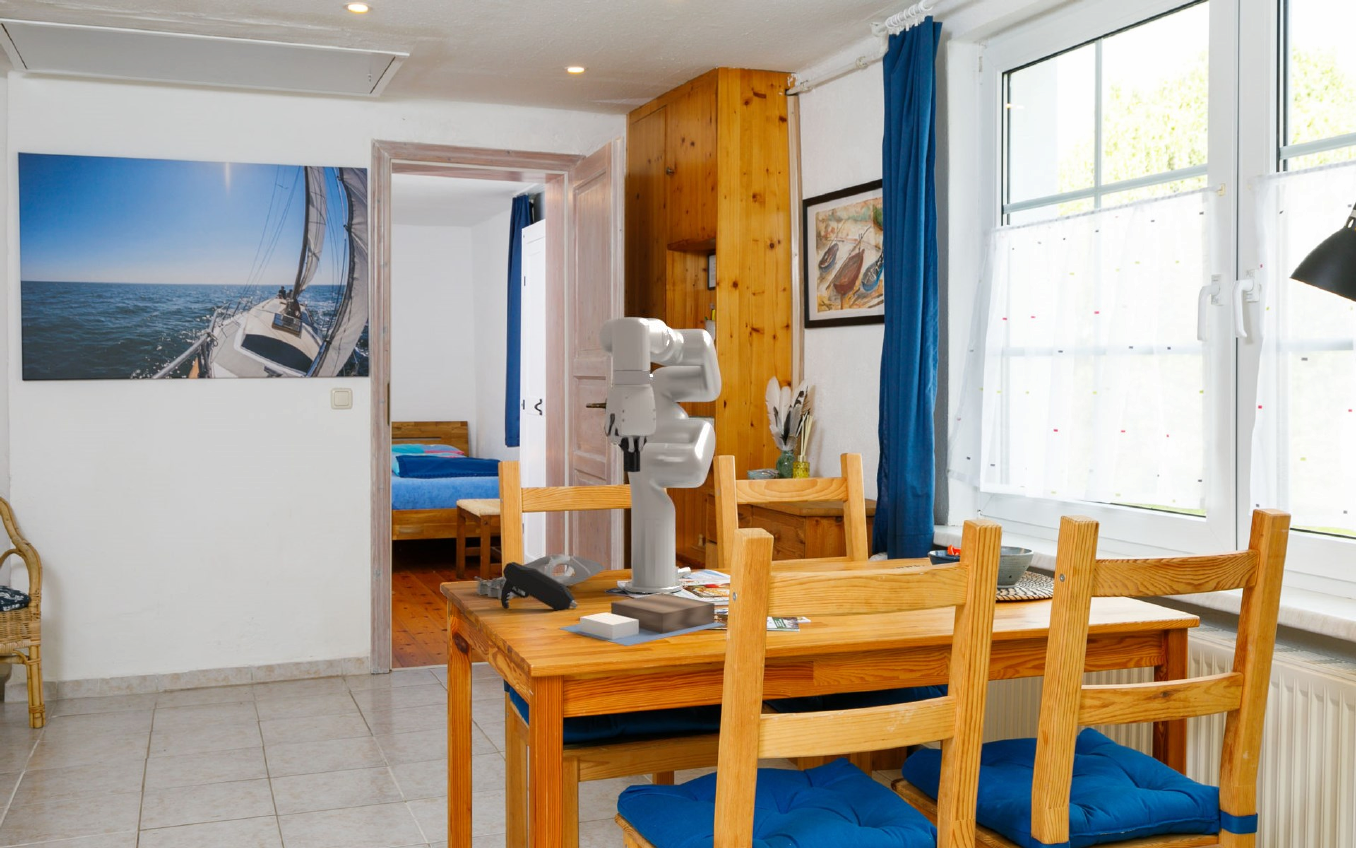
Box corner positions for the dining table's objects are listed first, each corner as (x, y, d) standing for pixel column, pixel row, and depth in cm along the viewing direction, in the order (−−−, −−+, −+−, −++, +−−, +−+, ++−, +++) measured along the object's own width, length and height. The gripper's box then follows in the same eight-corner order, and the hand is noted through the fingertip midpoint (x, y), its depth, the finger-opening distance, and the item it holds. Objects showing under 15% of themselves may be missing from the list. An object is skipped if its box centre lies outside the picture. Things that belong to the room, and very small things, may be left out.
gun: (557, 640, 218) (580, 596, 217) (487, 599, 221) (509, 555, 219) (561, 637, 221) (584, 593, 220) (492, 597, 223) (514, 553, 222)
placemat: (655, 611, 217) (655, 609, 217) (726, 626, 204) (726, 624, 204) (557, 630, 201) (557, 628, 201) (627, 648, 187) (627, 645, 187)
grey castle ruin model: (471, 595, 237) (471, 576, 237) (500, 590, 242) (499, 571, 242) (503, 601, 230) (502, 581, 229) (531, 596, 235) (531, 577, 235)
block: (662, 611, 215) (662, 593, 215) (714, 622, 205) (714, 603, 205) (611, 621, 206) (611, 602, 206) (662, 633, 196) (662, 613, 196)
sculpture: (558, 595, 236) (558, 565, 236) (500, 583, 250) (500, 555, 249) (619, 584, 248) (619, 556, 248) (561, 574, 262) (561, 547, 262)
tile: (579, 617, 198) (580, 631, 198) (612, 625, 192) (612, 639, 192) (606, 612, 202) (606, 626, 203) (638, 619, 196) (638, 634, 196)
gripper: (646, 379, 230) (647, 468, 231) (590, 380, 220) (591, 472, 221) (671, 379, 225) (672, 470, 225) (615, 380, 214) (616, 475, 215)
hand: (632, 471), depth 223 cm, fingers closed
